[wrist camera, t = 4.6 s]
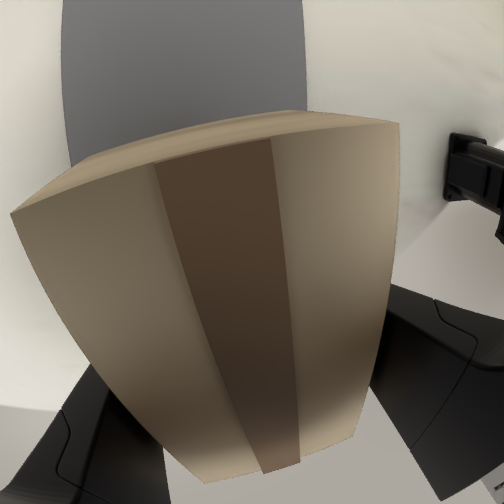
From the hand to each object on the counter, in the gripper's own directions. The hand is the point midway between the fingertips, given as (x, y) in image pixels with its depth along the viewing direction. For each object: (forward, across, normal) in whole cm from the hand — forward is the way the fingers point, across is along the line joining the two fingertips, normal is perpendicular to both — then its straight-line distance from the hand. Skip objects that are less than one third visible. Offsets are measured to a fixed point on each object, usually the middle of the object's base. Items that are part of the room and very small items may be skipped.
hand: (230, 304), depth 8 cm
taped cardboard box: (+1, 0, 0) cm, 1 cm away
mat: (+11, -1, -6) cm, 12 cm away
